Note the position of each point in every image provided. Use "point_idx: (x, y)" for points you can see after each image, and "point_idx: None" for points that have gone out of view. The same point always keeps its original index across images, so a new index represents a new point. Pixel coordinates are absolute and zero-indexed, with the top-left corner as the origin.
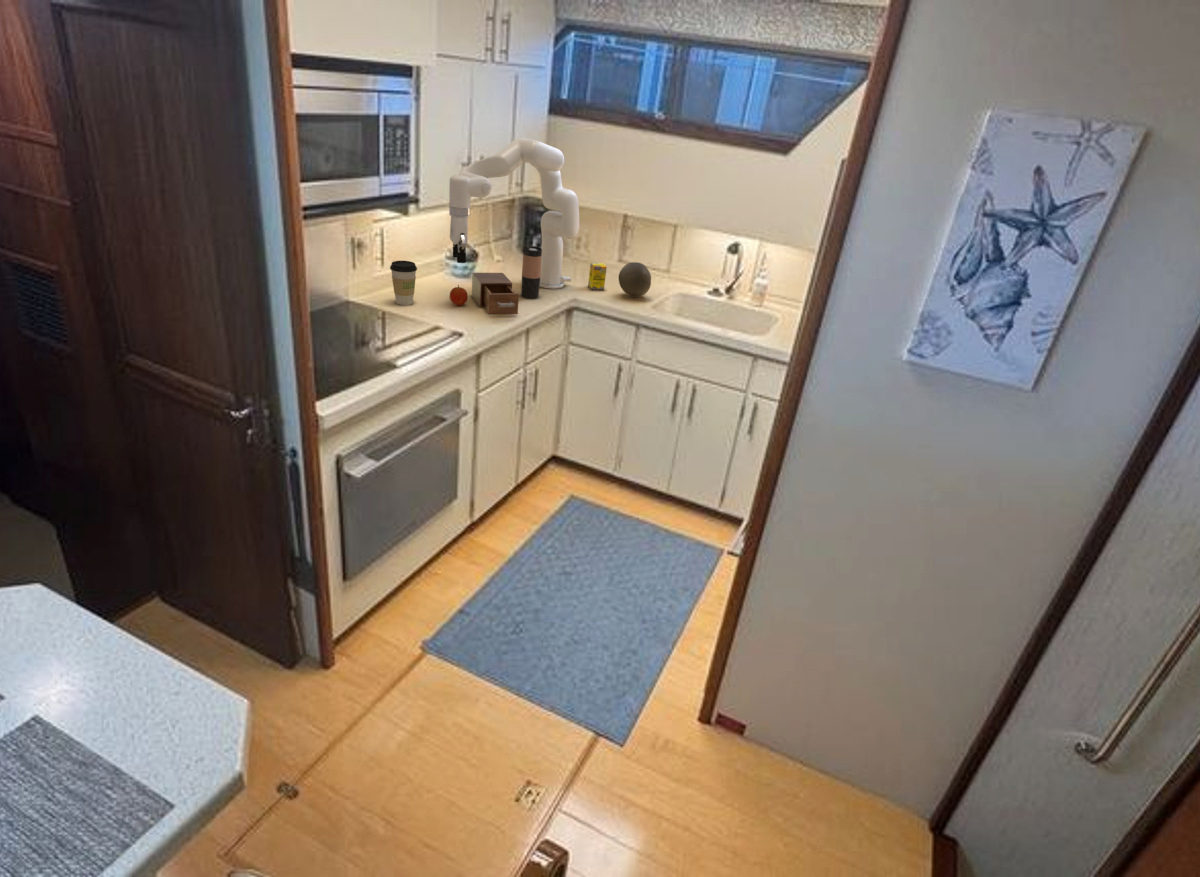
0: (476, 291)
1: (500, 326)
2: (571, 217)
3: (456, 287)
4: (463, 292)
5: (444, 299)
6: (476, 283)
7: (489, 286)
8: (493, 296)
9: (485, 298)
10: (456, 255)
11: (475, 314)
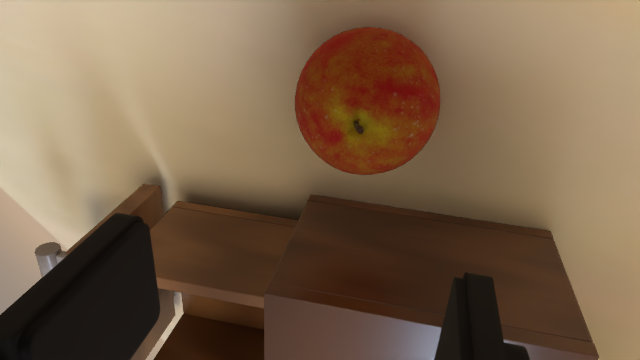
0: (411, 251)
1: (19, 178)
2: None
3: (369, 109)
4: (306, 137)
5: (531, 16)
6: (416, 290)
7: None
8: None
9: (242, 243)
10: (445, 336)
11: (188, 124)
